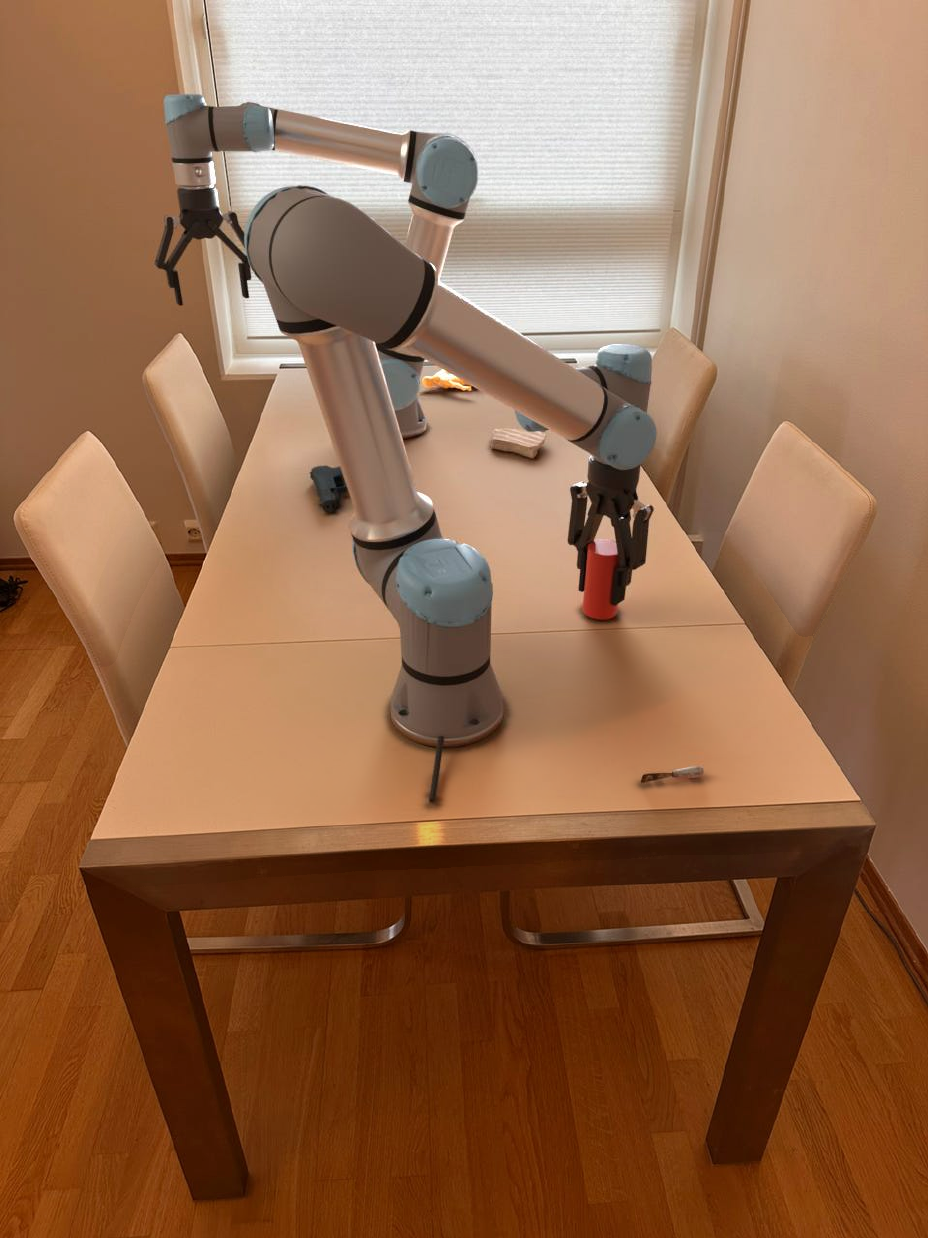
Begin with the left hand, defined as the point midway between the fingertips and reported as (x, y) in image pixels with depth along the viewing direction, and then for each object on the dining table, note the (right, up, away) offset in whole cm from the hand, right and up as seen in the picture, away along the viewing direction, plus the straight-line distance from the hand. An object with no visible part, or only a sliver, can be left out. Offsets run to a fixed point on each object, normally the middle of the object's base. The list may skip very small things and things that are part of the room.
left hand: (213, 300), depth 184 cm
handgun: (+27, -40, -1) cm, 48 cm away
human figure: (+52, -2, +59) cm, 79 cm away
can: (+73, -64, -41) cm, 106 cm away
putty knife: (+77, -85, -74) cm, 137 cm away
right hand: (+73, -62, -43) cm, 105 cm away
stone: (+64, -27, +20) cm, 72 cm away
